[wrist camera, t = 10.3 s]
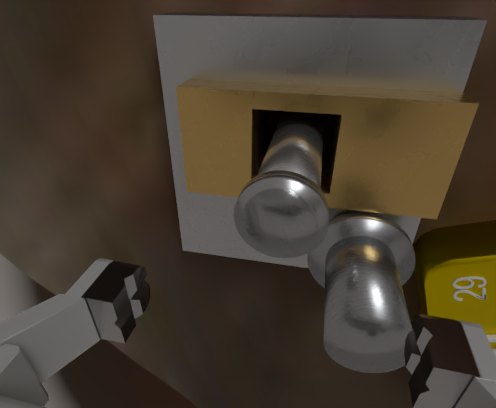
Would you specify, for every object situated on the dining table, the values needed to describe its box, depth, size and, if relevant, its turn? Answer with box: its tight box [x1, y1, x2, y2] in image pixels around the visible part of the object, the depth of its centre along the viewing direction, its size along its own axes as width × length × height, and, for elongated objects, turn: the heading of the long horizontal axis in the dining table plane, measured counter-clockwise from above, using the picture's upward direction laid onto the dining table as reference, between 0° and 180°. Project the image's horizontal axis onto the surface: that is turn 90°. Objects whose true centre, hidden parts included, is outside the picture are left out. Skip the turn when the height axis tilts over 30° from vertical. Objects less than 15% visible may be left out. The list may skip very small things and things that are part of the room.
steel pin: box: [234, 111, 329, 258], centre depth 19 cm, size 4×4×12 cm
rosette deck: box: [153, 13, 487, 373], centre depth 20 cm, size 18×18×12 cm
